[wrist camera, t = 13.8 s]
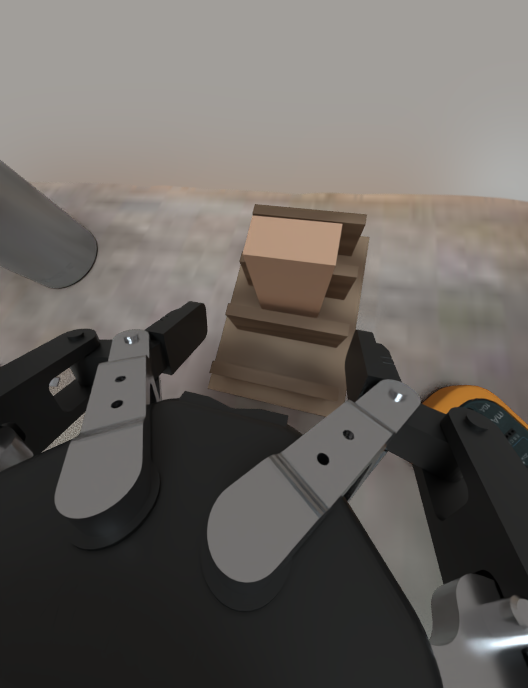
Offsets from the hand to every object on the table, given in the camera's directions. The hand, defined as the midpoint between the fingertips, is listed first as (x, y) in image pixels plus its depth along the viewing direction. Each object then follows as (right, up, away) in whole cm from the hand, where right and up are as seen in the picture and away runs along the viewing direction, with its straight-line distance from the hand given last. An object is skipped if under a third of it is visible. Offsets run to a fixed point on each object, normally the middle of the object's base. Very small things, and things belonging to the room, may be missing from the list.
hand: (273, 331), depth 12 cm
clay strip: (+2, +3, +11) cm, 11 cm away
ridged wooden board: (+2, +2, +12) cm, 13 cm away
